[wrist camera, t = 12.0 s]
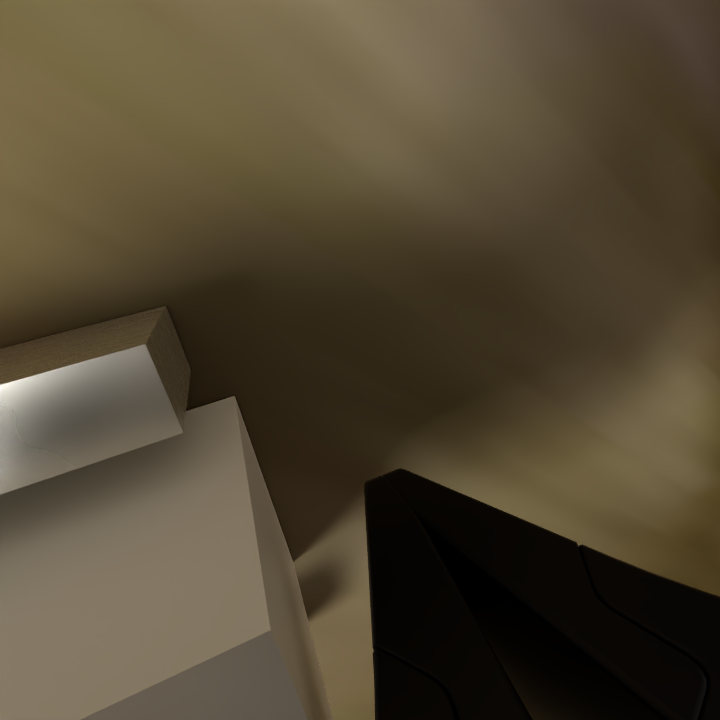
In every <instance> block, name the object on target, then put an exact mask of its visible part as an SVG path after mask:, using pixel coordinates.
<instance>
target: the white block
mask: <svg viewBox="0 0 720 720" xmlns="http://www.w3.org/2000/svg"><path fill="white" fill-rule="evenodd" d="M0 720H333V717H332V713H331V709H330V705H329V702H328V698H327V694H326V690H325V686H324V682H323V678H322V674H321V670H320V666H319V662H318V658H317V654H316V650H315V646H314V642H313V638H312V634H311V630H310V626H309V622H308V618H307V614H306V610H305V606H304V602H303V598H302V594H301V590H300V586H299V583H298V579H297V575H296V571H295V567H294V563H293V560H292V557H291V554H290V552H289V549H288V546H287V543H286V540H285V537H284V534H283V532H282V529H281V526H280V523H279V520H278V517H277V515H276V512H275V509H274V506H273V503H272V500H271V498H270V495H269V492H268V489H267V486H266V483H265V481H264V478H263V475H262V472H261V469H260V466H259V464H258V461H257V458H256V455H255V452H254V449H253V446H252V444H251V441H250V438H249V435H248V432H247V429H246V427H245V424H244V421H243V418H242V415H241V412H240V410H239V407H238V404H237V401H236V398H235V396H232V397H229V398H226V399H223V400H220V401H216V402H213V403H210V404H207V405H204V406H201V407H198V408H195V409H191V410H188V411H186V416H185V424H184V432H183V433H182V434H179V435H176V436H173V437H170V438H167V439H164V440H161V441H158V442H155V443H152V444H149V445H146V446H143V447H140V448H137V449H134V450H131V451H128V452H125V453H122V454H119V455H117V456H114V457H111V458H108V459H105V460H102V461H99V462H96V463H93V464H90V465H87V466H84V467H81V468H78V469H75V470H72V471H69V472H66V473H63V474H60V475H57V476H54V477H51V478H48V479H45V480H42V481H39V482H36V483H33V484H30V485H28V486H25V487H22V488H19V489H16V490H13V491H10V492H7V493H4V494H1V495H0Z"/></svg>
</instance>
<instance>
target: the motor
mask: <svg viewBox="0 0 720 720" xmlns="http://www.w3.org/2000/svg"><path fill="white" fill-rule="evenodd" d="M190 374H191V368H190V365H189V363H188V360H187V358H186V355H185V353H184V350H183V348H182V345H181V343H180V340H179V338H178V335H177V333H176V330H175V327H174V325H173V322H172V320H171V317H170V315H169V312H168V310H167V307H166V306H162V307H158V308H155V309H151V310H147V311H143V312H139V313H135V314H132V315H128V316H124V317H120V318H116V319H112V320H109V321H105V322H101V323H97V324H93V325H89V326H86V327H82V328H78V329H74V330H70V331H66V332H63V333H59V334H55V335H51V336H47V337H43V338H40V339H36V340H32V341H28V342H24V343H20V344H17V345H13V346H9V347H5V348H1V349H0V495H1V494H4V493H7V492H10V491H13V490H16V489H19V488H22V487H25V486H28V485H30V484H33V483H36V482H39V481H42V480H45V479H48V478H51V477H54V476H57V475H60V474H63V473H66V472H69V471H72V470H75V469H78V468H81V467H84V466H87V465H90V464H93V463H96V462H99V461H102V460H105V459H108V458H111V457H114V456H117V455H119V454H122V453H125V452H128V451H131V450H134V449H137V448H140V447H143V446H146V445H149V444H152V443H155V442H158V441H161V440H164V439H167V438H170V437H173V436H176V435H179V434H182V433H183V432H184V424H185V416H186V407H187V399H188V391H189V383H190Z"/></svg>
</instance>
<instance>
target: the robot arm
mask: <svg viewBox="0 0 720 720" xmlns="http://www.w3.org/2000/svg"><path fill="white" fill-rule="evenodd" d="M364 497H365V515H366V533H367V552H368V570H369V588H370V606H371V625H372V643H373V650H374V652H373V667H374V689H375V720H720V597H719V596H716V595H713V594H710V593H707V592H704V591H701V590H699V589H696V588H693V587H690V586H687V585H685V584H682V583H679V582H676V581H673V580H671V579H668V578H665V577H662V576H659V575H657V574H654V573H651V572H648V571H646V570H643V569H641V568H638V567H636V566H633V565H631V564H628V563H626V562H623V561H621V560H618V559H616V558H613V557H611V556H608V555H606V554H604V553H601V552H599V551H597V550H594V549H592V548H589V547H587V546H585V545H579V547H578V544H577V543H576V542H575V541H572V540H570V539H568V538H565V537H563V536H561V535H558V534H556V533H554V532H551V531H549V530H546V529H544V528H542V527H539V526H537V525H535V524H532V523H530V522H528V521H525V520H523V519H520V518H518V517H516V516H513V515H511V514H509V513H506V512H504V511H502V510H499V509H497V508H494V507H492V506H490V505H487V504H485V503H483V502H480V501H478V500H476V499H473V498H471V497H468V496H466V495H464V494H461V493H459V492H457V491H454V490H452V489H450V488H447V487H445V486H443V485H440V484H438V483H435V482H433V481H431V480H428V479H426V478H424V477H421V476H419V475H417V474H414V473H412V472H409V471H407V470H405V469H401V468H400V469H396V470H394V471H391V472H389V473H386V474H384V475H383V476H379V477H376V478H374V479H371V480H369V481H367V482H365V484H364Z"/></svg>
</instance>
